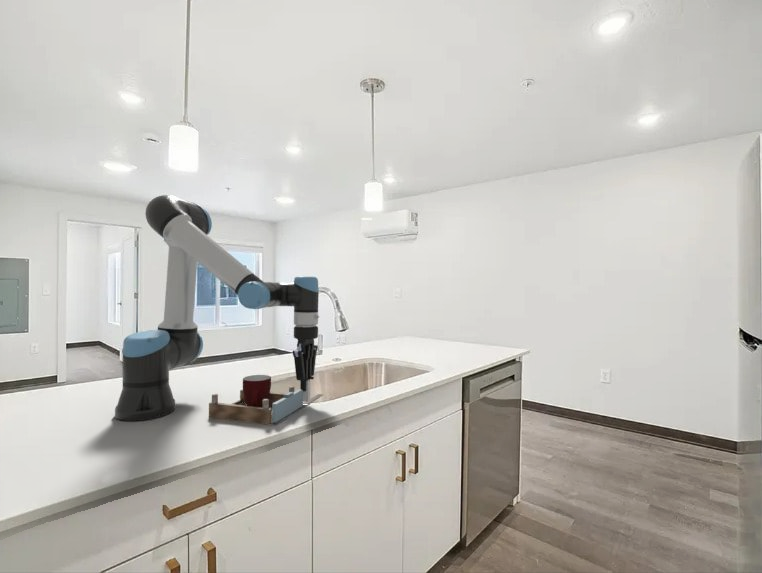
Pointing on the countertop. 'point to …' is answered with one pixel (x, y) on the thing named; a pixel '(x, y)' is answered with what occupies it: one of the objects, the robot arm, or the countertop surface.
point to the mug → (256, 389)
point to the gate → (287, 405)
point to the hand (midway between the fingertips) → (305, 400)
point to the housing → (250, 409)
